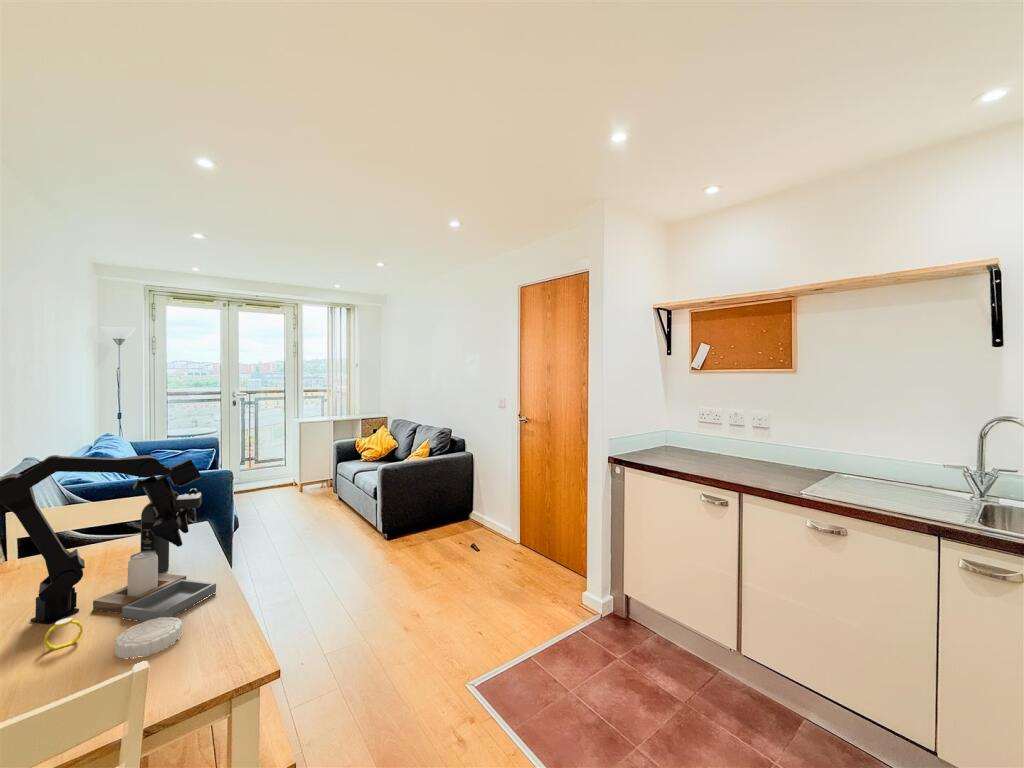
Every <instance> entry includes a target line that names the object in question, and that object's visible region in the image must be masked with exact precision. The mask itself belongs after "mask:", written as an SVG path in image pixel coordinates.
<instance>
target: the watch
mask: <svg viewBox="0 0 1024 768" xmlns="http://www.w3.org/2000/svg"><path fill="white" fill-rule="evenodd" d="M70 624H71V625H72V624H73V625H76V626H78V628H79V632H78V634H77V635H76V636H75V638H74V639H73V640H70V641H68V642H65V643H61V644H57V645H55V644H50V642H49V641H48V636H50V635H51V633H52V632H53V631H54V630H55V629H57V628H62V627H65V626H68V625H70ZM83 631H84V630H83V624H82V623H81V622H80V620H77V619H73V617H64V618H62V619H60V620H57V621H55V622H54V625H53V626H51V627H50V628H49V629H48V631H47V632H46V633H45V635H44V641H43V644H44V645H45V646H46V648H47V649H49V650H52V651H56V650H58V649H63V648H65V647H69V646H73V645H74V644H75V643H76V642H77V641H79V639H80V638H81V636H82V634H83Z"/></svg>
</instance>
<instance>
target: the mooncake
mask: <svg viewBox="0 0 1024 768" xmlns="http://www.w3.org/2000/svg"><path fill="white" fill-rule="evenodd" d="M182 620H183V619H180V618H178V617H176V616H175V617H168V618H167V617H163V618H162V617H159V618H156V619H150V620H148V621H145V622H140V623H138V624H135V625H132V626H131V627H130V628H127V629H126V630H124V631H123V632H122V633H120V634H119V636H118V637H116V639H115V645H114V646H115V647H114V656H116V657H117V658H118V659H123V658H124V660H127V659H126V658H129V657H131V658H133V657H134V658H135V657H138V656H146V657H147V656H150V655H154V654H153V653H155V654H157V653H159V652H161V651H163V650H162V649H164V650H166V649H167V648H166V647H168V646H169V645H171V644H173V643H174V642H175V641H176V640H177V639H178V638H180V639H181V636H180V635H181V634H182V635H183V621H182ZM176 642H177V641H176ZM176 642H175V643H176ZM173 645H174V644H173ZM171 646H172V645H171ZM169 647H170V646H169ZM169 647H168V648H169ZM165 648H166V649H165ZM160 650H161V651H160ZM158 651H159V652H158ZM149 654H150V655H149ZM131 658H130V659H131Z"/></svg>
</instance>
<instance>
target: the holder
mask: <svg viewBox="0 0 1024 768" xmlns="http://www.w3.org/2000/svg"><path fill="white" fill-rule="evenodd" d="M181 579H183V580H187V575H182V574H175V573H174V574H172V573H164V572H162V573H158V587H156V588H154V589H152V590H150V591H147V592H145V593H143V594H141V595H139V596H137V597H136V596H128V595H127V588H128V585H126V586H124V587H121V588H118V589H117V590H115V591H112V592H110V593H108V594H105V595H103V596H100V597H98V598H95V599H93V601H92V602H93V603H92V609H95V610H94V611H99V610H102V611H101V612H106V611H111V612H110V613H113V612H117V613H116V614H121V613H122V607H124V606H126V605H128V604H131V603H133V602H135V601H137V600H139V599H141V598H143V597H145V596H147V595H150V594H152V593H154V592H156V591H158V590H160V589H162V588H164V587H166V586H169V585H171V584H173V583H175V582H177V581H179V580H181Z"/></svg>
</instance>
